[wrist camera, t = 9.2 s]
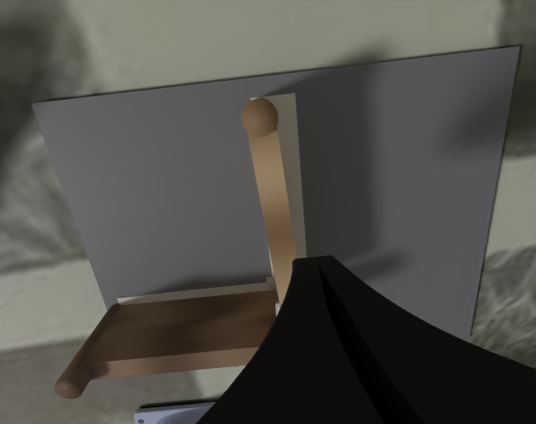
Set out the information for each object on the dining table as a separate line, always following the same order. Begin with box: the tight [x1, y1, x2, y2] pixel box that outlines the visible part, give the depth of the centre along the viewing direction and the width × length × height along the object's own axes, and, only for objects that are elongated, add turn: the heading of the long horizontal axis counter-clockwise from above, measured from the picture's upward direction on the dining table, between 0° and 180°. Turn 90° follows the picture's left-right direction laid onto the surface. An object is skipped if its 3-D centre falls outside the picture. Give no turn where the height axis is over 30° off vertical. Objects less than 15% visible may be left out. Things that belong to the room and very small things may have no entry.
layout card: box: [31, 46, 520, 342], centre depth 20 cm, size 20×26×1 cm
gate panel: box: [241, 98, 297, 308], centre depth 16 cm, size 12×1×5 cm, turn 10°
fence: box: [55, 290, 276, 399], centre depth 18 cm, size 14×2×6 cm, turn 96°
